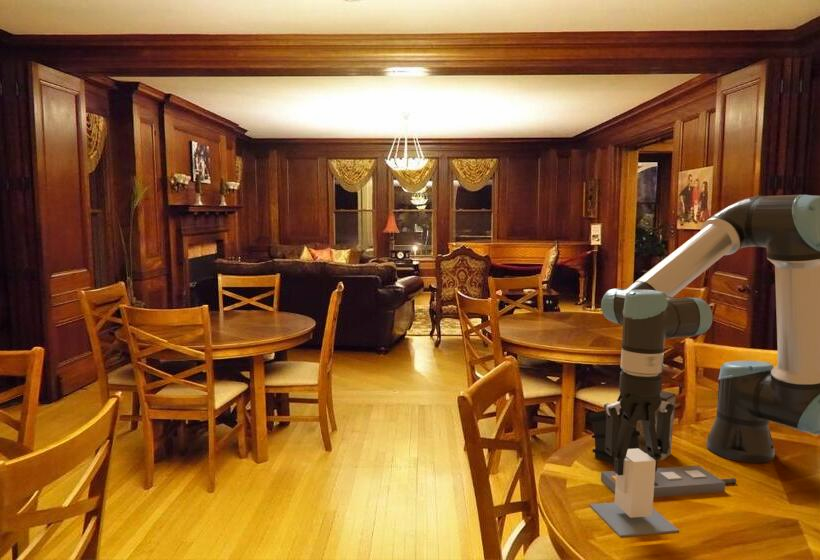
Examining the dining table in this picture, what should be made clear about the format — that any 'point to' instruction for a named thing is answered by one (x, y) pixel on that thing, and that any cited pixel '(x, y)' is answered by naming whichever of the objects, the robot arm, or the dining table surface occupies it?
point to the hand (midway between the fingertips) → (634, 488)
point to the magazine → (600, 434)
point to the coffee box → (641, 439)
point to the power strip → (678, 481)
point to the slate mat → (632, 521)
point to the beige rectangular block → (638, 485)
